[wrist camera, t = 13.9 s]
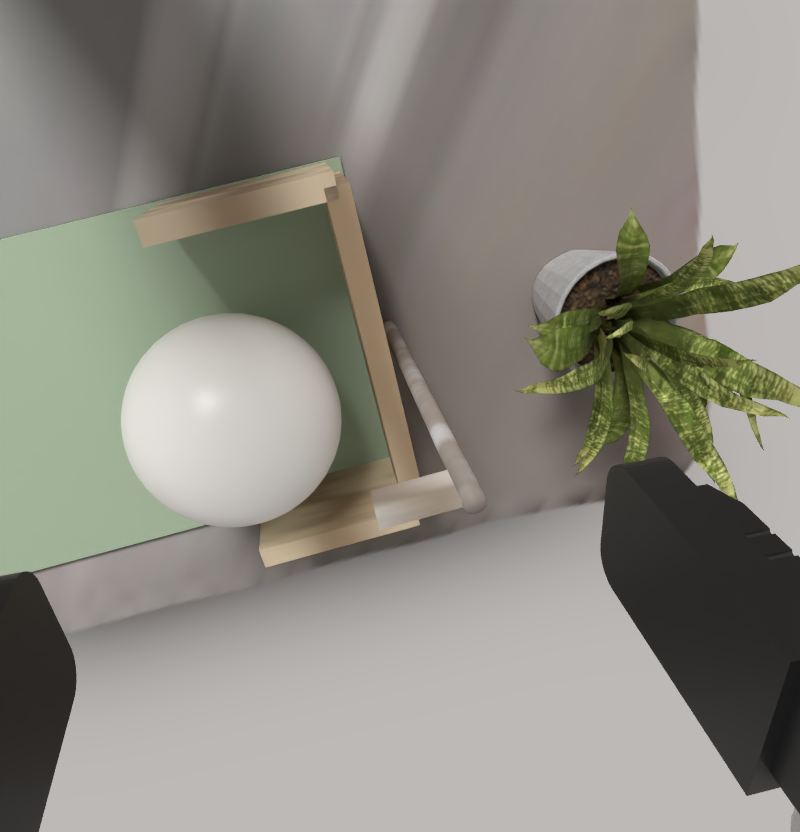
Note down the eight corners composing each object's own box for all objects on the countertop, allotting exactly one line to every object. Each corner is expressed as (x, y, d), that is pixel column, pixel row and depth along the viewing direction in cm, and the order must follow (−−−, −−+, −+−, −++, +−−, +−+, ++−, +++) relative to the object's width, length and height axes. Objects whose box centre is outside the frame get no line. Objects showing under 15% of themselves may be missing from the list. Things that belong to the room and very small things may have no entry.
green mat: (-9, 580, 43) (-11, 583, 42) (-190, 285, 34) (-193, 287, 34) (413, 466, 44) (414, 468, 44) (339, 156, 36) (339, 156, 35)
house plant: (450, 425, 43) (534, 584, 29) (428, 205, 37) (520, 262, 23) (658, 387, 45) (842, 522, 30) (668, 169, 39) (903, 201, 24)
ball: (276, 483, 26) (404, 347, 34) (60, 339, 28) (229, 240, 35) (241, 606, 34) (351, 473, 42) (74, 489, 35) (210, 381, 43)
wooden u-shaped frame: (268, 506, 43) (255, 785, 25) (158, 203, 35) (22, 295, 17) (427, 463, 44) (525, 706, 26) (356, 154, 35) (429, 194, 17)
